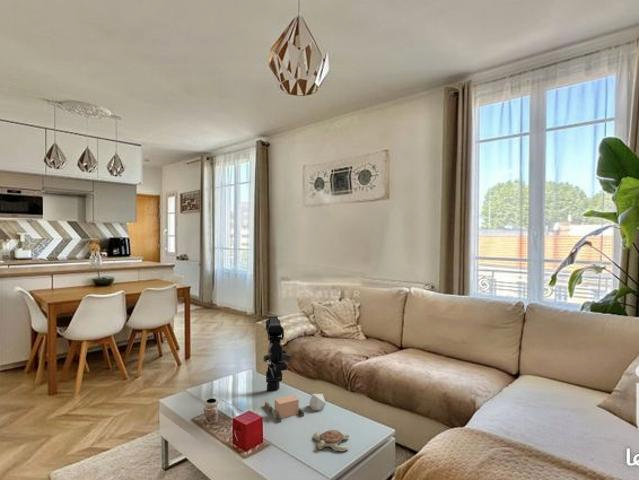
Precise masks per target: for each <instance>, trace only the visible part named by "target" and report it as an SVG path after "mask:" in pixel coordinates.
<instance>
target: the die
mask: <svg viewBox="0 0 639 480" xmlns="http://www.w3.org/2000/svg"><path fill="white" fill-rule="evenodd" d="M308 403H309V406H310V409H311V410H313V411H323V410H324V409H325V406H326V404H327V403H326V400H325V397H324V395H323V393H312V394H311V397H310V400H309V402H308Z"/></svg>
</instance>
